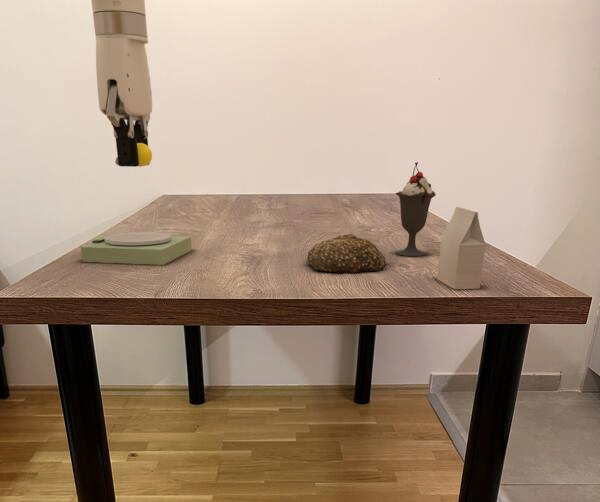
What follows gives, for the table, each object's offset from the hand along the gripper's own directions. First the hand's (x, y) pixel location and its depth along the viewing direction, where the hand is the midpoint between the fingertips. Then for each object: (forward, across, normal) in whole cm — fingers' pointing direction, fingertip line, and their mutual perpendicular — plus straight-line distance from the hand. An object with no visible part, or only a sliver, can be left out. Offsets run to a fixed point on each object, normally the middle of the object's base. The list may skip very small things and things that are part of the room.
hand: (134, 164), depth 101 cm
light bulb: (0, 0, 0) cm, 0 cm away
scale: (+15, -2, -1) cm, 15 cm away
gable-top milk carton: (+15, +10, +52) cm, 55 cm away
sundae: (+15, -13, +44) cm, 49 cm away
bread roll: (+15, 0, +35) cm, 38 cm away
